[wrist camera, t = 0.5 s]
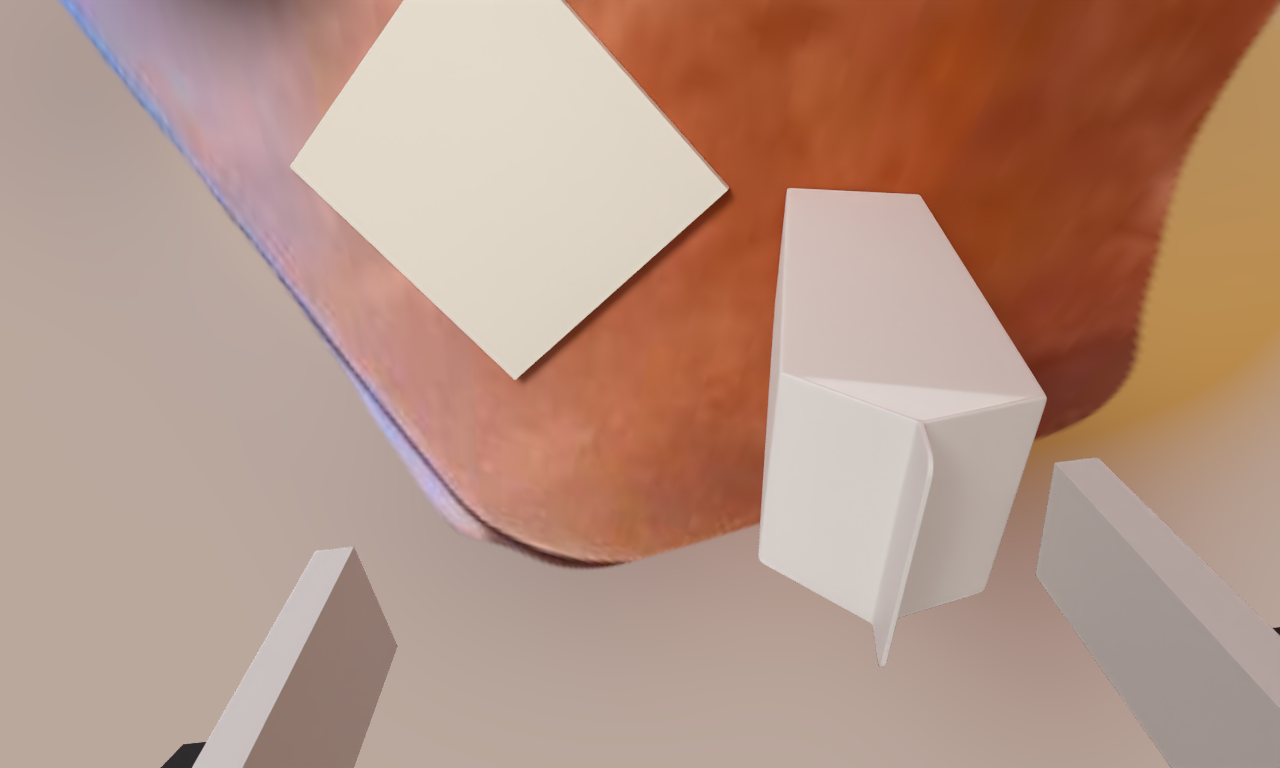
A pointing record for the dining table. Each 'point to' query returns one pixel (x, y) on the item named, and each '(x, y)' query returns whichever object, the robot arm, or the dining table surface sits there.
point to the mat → (505, 167)
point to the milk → (887, 411)
